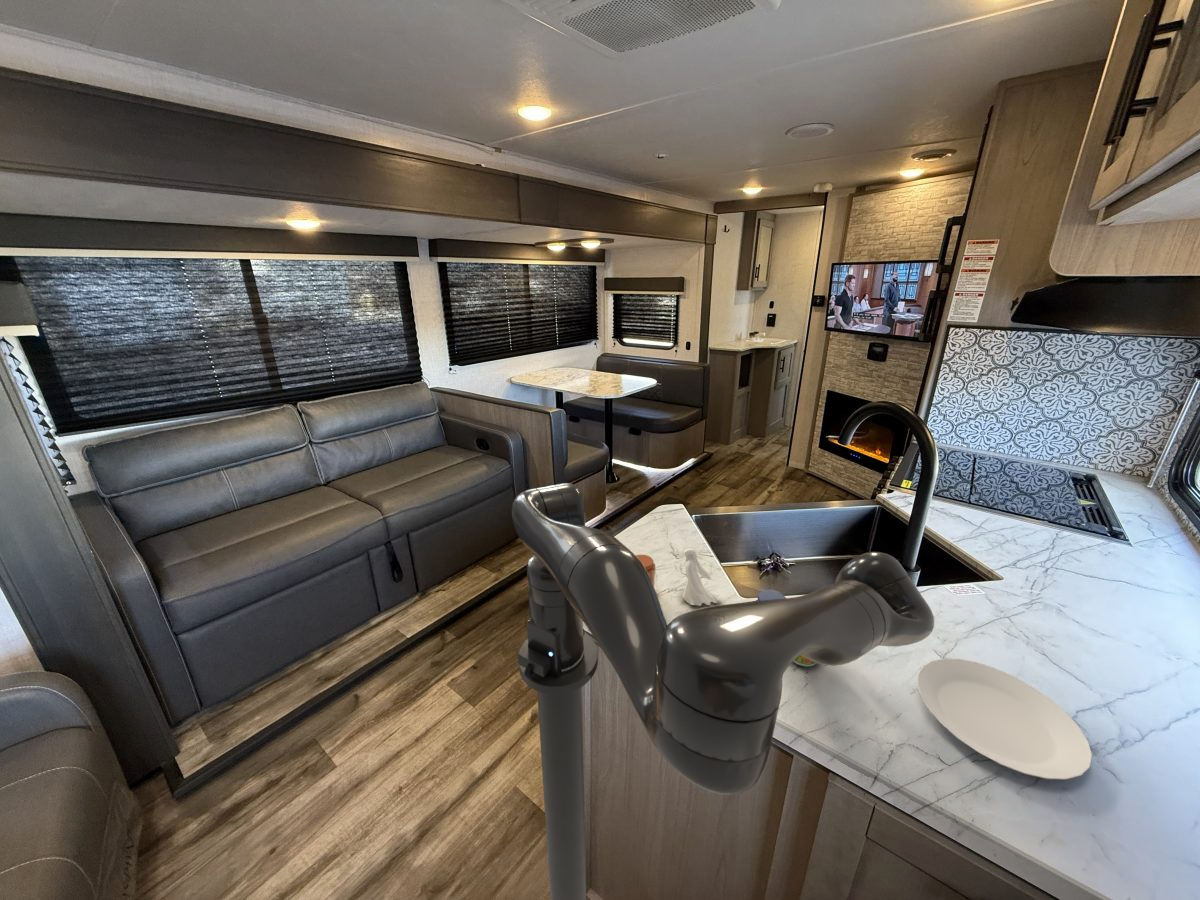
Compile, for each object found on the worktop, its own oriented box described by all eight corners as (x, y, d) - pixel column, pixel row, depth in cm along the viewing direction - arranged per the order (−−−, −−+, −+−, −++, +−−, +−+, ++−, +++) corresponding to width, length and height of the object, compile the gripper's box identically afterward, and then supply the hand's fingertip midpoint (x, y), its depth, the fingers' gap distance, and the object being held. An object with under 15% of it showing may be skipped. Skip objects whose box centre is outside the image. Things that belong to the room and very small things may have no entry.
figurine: (684, 584, 104) (687, 538, 100) (719, 592, 101) (724, 546, 97) (676, 605, 98) (679, 557, 93) (714, 614, 95) (719, 565, 91)
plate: (947, 651, 86) (950, 641, 85) (1105, 740, 69) (1111, 729, 68) (889, 703, 75) (892, 692, 74) (1058, 823, 59) (1065, 811, 58)
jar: (647, 607, 97) (648, 571, 94) (623, 599, 100) (624, 563, 96) (657, 593, 101) (659, 557, 98) (635, 585, 104) (636, 550, 101)
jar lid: (766, 591, 102) (767, 585, 101) (791, 604, 98) (792, 599, 97) (751, 602, 99) (752, 596, 98) (776, 616, 94) (777, 610, 94)
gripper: (884, 590, 69) (845, 602, 84) (785, 580, 72) (764, 594, 86) (891, 644, 66) (849, 647, 81) (788, 632, 69) (765, 637, 83)
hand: (805, 619), depth 84 cm, fingers open, 8 cm apart
